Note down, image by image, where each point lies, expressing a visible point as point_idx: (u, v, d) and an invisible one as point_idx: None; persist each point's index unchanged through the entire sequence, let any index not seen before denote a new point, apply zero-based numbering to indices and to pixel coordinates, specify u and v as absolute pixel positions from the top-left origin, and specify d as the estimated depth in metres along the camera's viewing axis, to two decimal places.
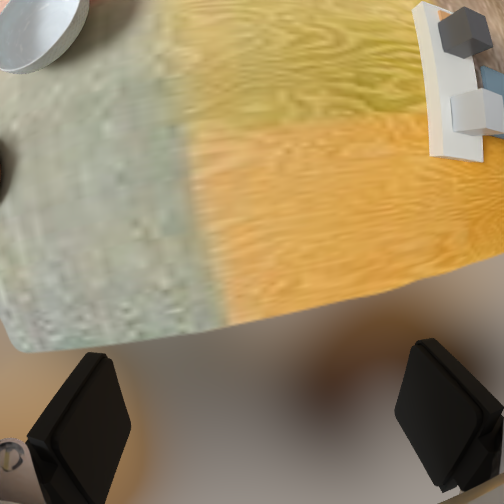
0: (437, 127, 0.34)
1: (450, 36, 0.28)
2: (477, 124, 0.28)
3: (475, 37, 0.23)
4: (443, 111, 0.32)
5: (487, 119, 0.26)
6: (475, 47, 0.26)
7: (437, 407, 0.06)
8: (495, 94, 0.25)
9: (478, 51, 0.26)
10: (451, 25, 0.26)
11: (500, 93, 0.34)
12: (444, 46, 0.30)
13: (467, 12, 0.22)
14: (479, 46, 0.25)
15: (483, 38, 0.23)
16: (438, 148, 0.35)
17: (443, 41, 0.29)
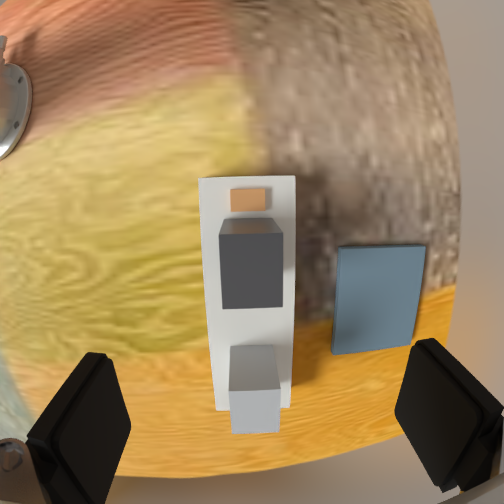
0: None
1: None
2: None
3: (230, 304, 0.21)
4: (215, 366, 0.30)
5: (235, 425, 0.23)
6: None
7: (437, 407, 0.06)
8: (262, 392, 0.22)
9: None
10: None
11: (370, 287, 0.31)
12: None
13: (225, 248, 0.20)
14: None
15: (255, 297, 0.21)
16: None
17: None
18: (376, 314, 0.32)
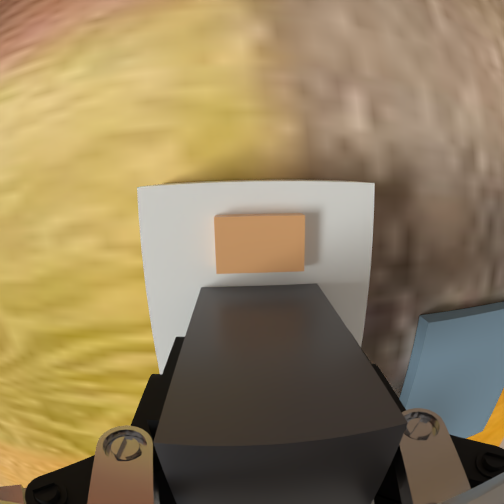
0: None
1: None
2: None
3: None
4: None
5: None
6: None
7: None
8: None
9: None
10: None
11: (456, 374, 0.15)
12: None
13: (185, 474, 0.04)
14: None
15: None
16: None
17: None
18: (454, 408, 0.16)
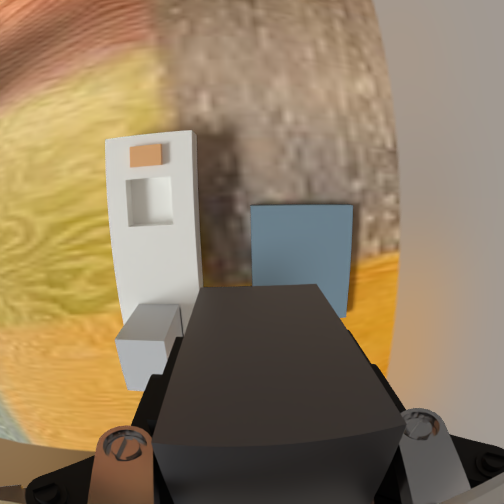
0: None
1: None
2: None
3: None
4: None
5: (129, 380, 0.23)
6: None
7: None
8: (146, 342, 0.22)
9: None
10: None
11: (288, 248, 0.30)
12: None
13: (183, 475, 0.04)
14: None
15: None
16: None
17: None
18: (298, 279, 0.31)
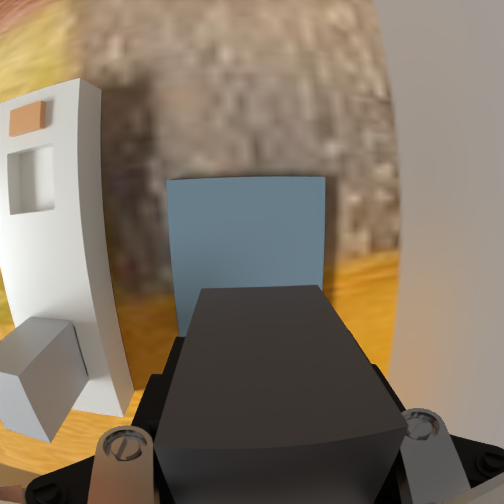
0: None
1: None
2: None
3: None
4: None
5: (2, 417, 0.12)
6: None
7: None
8: (1, 374, 0.12)
9: None
10: None
11: (223, 243, 0.20)
12: None
13: (185, 477, 0.04)
14: None
15: None
16: None
17: None
18: None
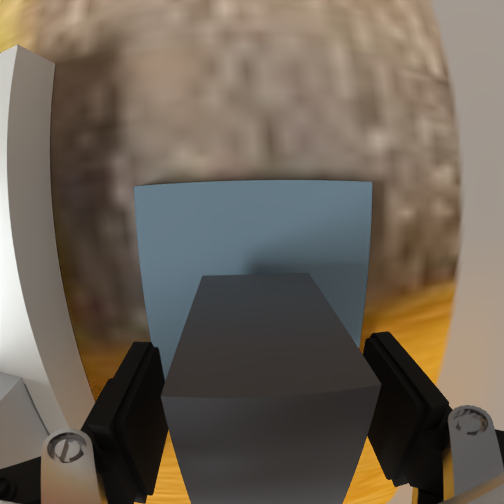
0: None
1: None
2: None
3: None
4: None
5: None
6: None
7: (386, 399, 0.07)
8: None
9: None
10: None
11: None
12: None
13: (187, 429, 0.05)
14: None
15: None
16: None
17: None
18: None
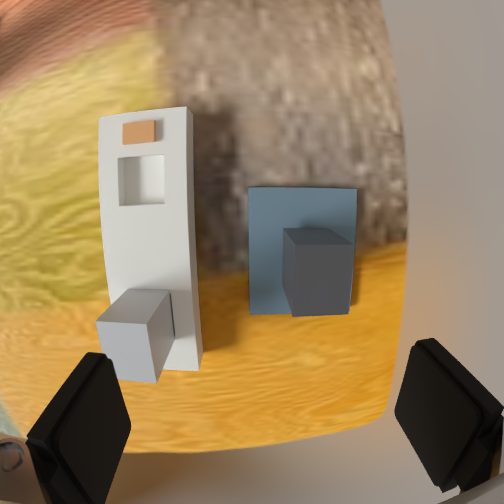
0: None
1: (285, 271, 0.25)
2: None
3: (301, 312, 0.21)
4: None
5: None
6: None
7: (437, 407, 0.06)
8: (127, 325, 0.20)
9: None
10: (287, 254, 0.24)
11: None
12: (282, 277, 0.27)
13: (300, 257, 0.20)
14: None
15: (324, 305, 0.21)
16: None
17: (282, 267, 0.27)
18: None
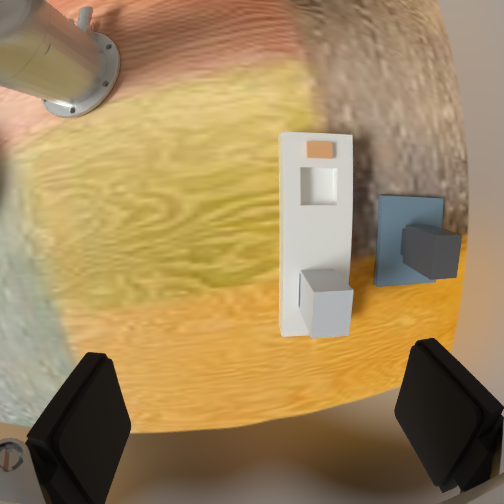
0: (281, 304, 0.38)
1: (412, 253, 0.35)
2: (308, 326, 0.32)
3: (434, 276, 0.31)
4: (286, 290, 0.36)
5: (315, 328, 0.30)
6: None
7: (437, 407, 0.06)
8: (339, 292, 0.29)
9: None
10: (416, 241, 0.34)
11: (404, 228, 0.38)
12: (404, 258, 0.37)
13: (437, 243, 0.30)
14: None
15: (446, 272, 0.30)
16: (281, 325, 0.39)
17: (405, 251, 0.37)
18: None
